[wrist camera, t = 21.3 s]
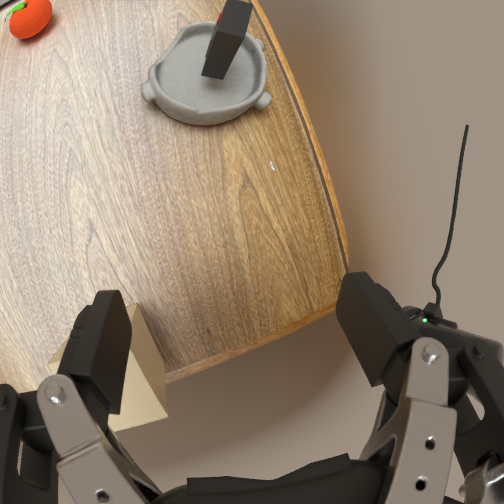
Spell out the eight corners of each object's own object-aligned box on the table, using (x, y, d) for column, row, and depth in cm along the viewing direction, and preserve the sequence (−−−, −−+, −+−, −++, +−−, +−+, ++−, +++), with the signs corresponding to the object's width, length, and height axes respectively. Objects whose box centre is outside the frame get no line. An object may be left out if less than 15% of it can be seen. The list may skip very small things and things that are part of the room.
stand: (137, 302, 29) (125, 339, 19) (164, 362, 30) (169, 417, 20) (78, 323, 27) (46, 364, 16) (108, 380, 28) (93, 436, 18)
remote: (230, 47, 25) (253, 3, 17) (222, 80, 25) (245, 37, 17) (209, 42, 24) (226, -3, 16) (199, 75, 24) (214, 30, 17)
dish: (137, 123, 27) (133, 105, 22) (163, 35, 27) (166, 12, 22) (257, 141, 32) (273, 127, 27) (267, 54, 31) (282, 35, 26)
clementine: (6, 53, 19) (-10, 30, 12) (21, 22, 18) (8, -2, 11) (48, 40, 21) (35, 12, 14) (62, 9, 20) (53, -18, 14)
